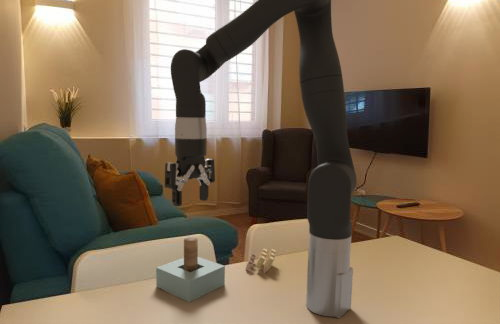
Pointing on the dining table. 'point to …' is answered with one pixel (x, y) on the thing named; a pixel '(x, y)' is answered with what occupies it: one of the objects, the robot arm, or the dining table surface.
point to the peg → (190, 254)
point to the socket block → (190, 278)
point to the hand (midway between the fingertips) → (191, 202)
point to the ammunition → (262, 260)
